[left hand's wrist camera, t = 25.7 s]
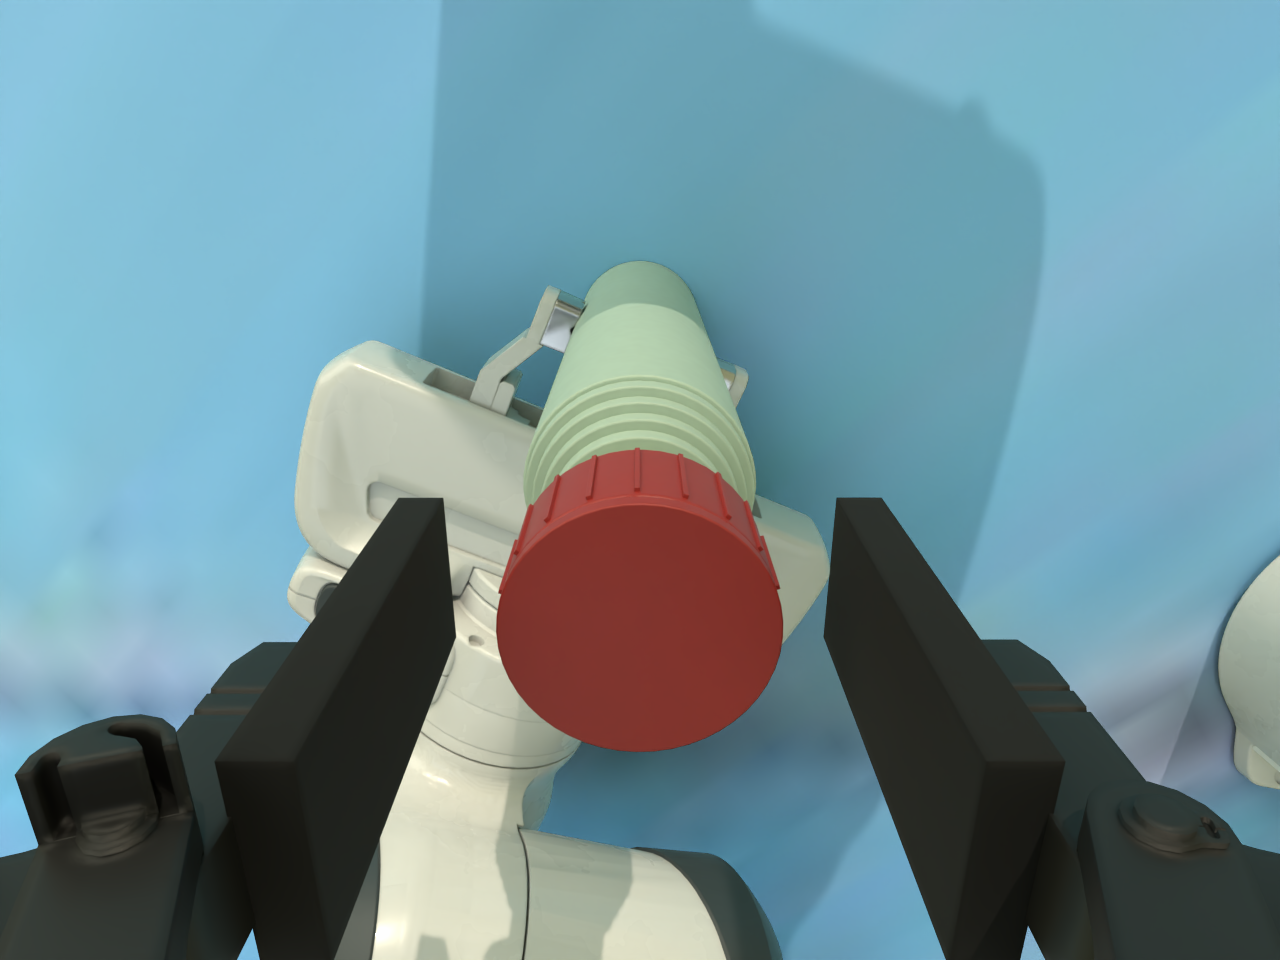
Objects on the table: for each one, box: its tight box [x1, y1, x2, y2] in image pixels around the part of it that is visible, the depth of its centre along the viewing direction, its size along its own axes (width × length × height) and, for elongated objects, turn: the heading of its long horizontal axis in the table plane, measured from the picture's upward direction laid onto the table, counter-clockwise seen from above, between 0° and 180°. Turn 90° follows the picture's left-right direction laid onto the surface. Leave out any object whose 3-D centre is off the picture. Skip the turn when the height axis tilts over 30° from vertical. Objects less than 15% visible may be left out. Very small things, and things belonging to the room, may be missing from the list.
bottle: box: [523, 261, 756, 511], centre depth 25 cm, size 5×5×24 cm
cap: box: [496, 448, 783, 752], centre depth 14 cm, size 4×4×2 cm
